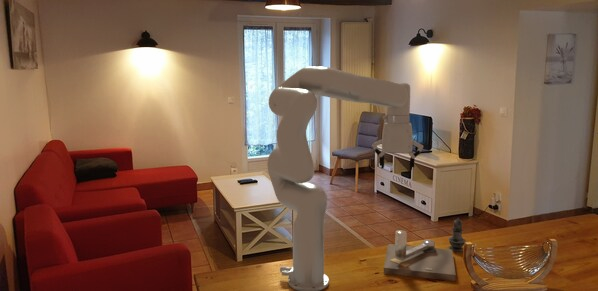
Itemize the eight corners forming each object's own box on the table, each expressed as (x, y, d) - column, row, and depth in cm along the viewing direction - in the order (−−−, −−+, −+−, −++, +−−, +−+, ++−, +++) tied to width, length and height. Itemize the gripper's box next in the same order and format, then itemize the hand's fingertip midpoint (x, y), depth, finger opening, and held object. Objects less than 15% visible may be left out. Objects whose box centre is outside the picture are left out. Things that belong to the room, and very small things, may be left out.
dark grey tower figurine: (462, 246, 174) (464, 214, 171) (466, 252, 168) (468, 220, 166) (446, 245, 174) (448, 214, 172) (449, 252, 168) (451, 220, 166)
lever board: (383, 273, 152) (383, 265, 152) (388, 248, 172) (388, 242, 171) (455, 280, 147) (455, 273, 146) (451, 254, 166) (451, 247, 166)
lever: (426, 242, 168) (428, 218, 166) (436, 246, 165) (437, 221, 163) (391, 258, 155) (392, 231, 154) (401, 262, 152) (402, 235, 151)
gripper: (371, 120, 160) (370, 169, 163) (424, 121, 155) (422, 172, 158) (373, 117, 167) (373, 164, 170) (424, 118, 162) (422, 167, 165)
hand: (396, 168), depth 164 cm, fingers open, 9 cm apart
